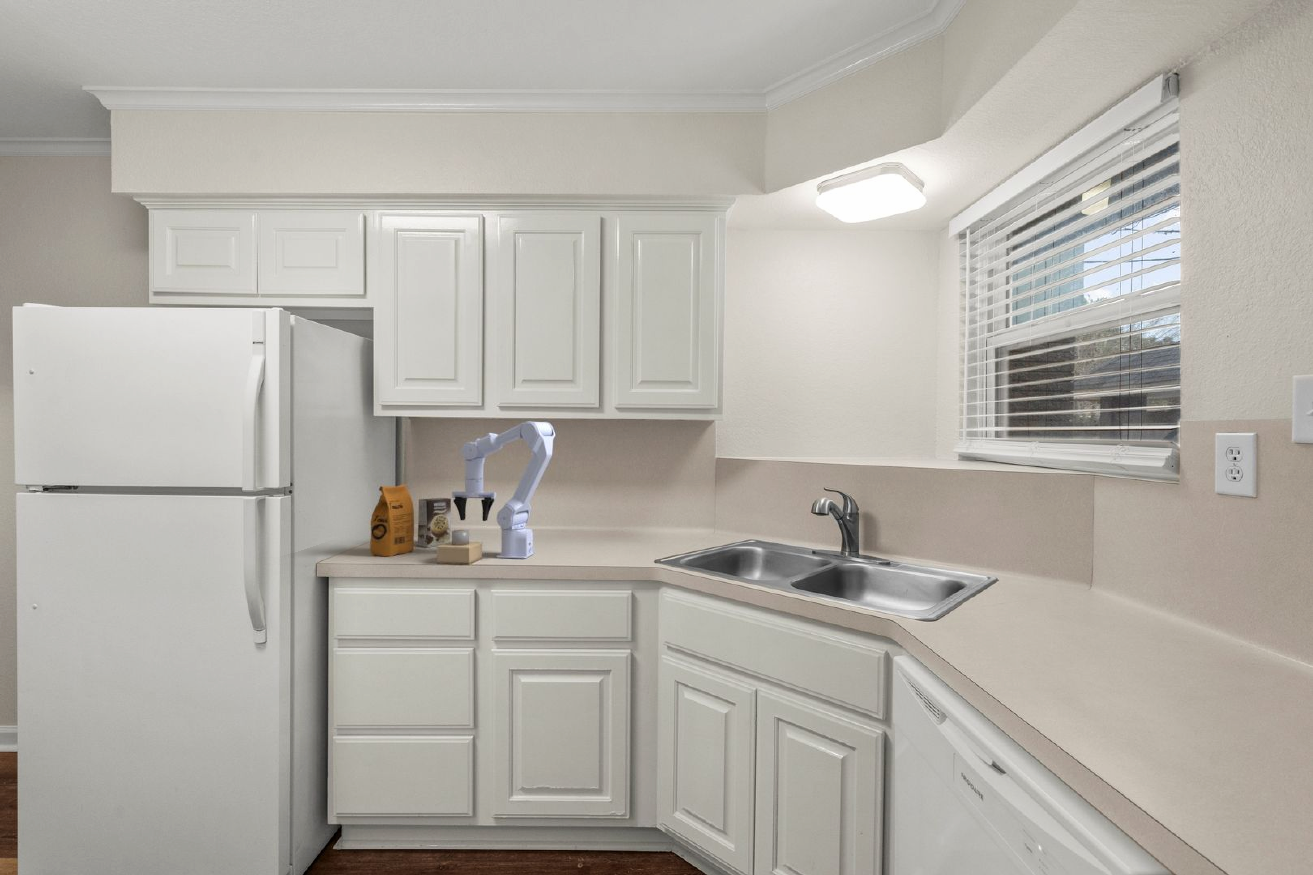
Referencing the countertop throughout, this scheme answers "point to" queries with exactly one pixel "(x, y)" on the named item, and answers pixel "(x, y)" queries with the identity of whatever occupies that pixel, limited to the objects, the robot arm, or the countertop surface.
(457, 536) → the grey rounded cylinder
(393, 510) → the coffee package
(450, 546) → the lid
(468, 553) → the box
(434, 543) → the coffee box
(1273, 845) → the countertop surface
